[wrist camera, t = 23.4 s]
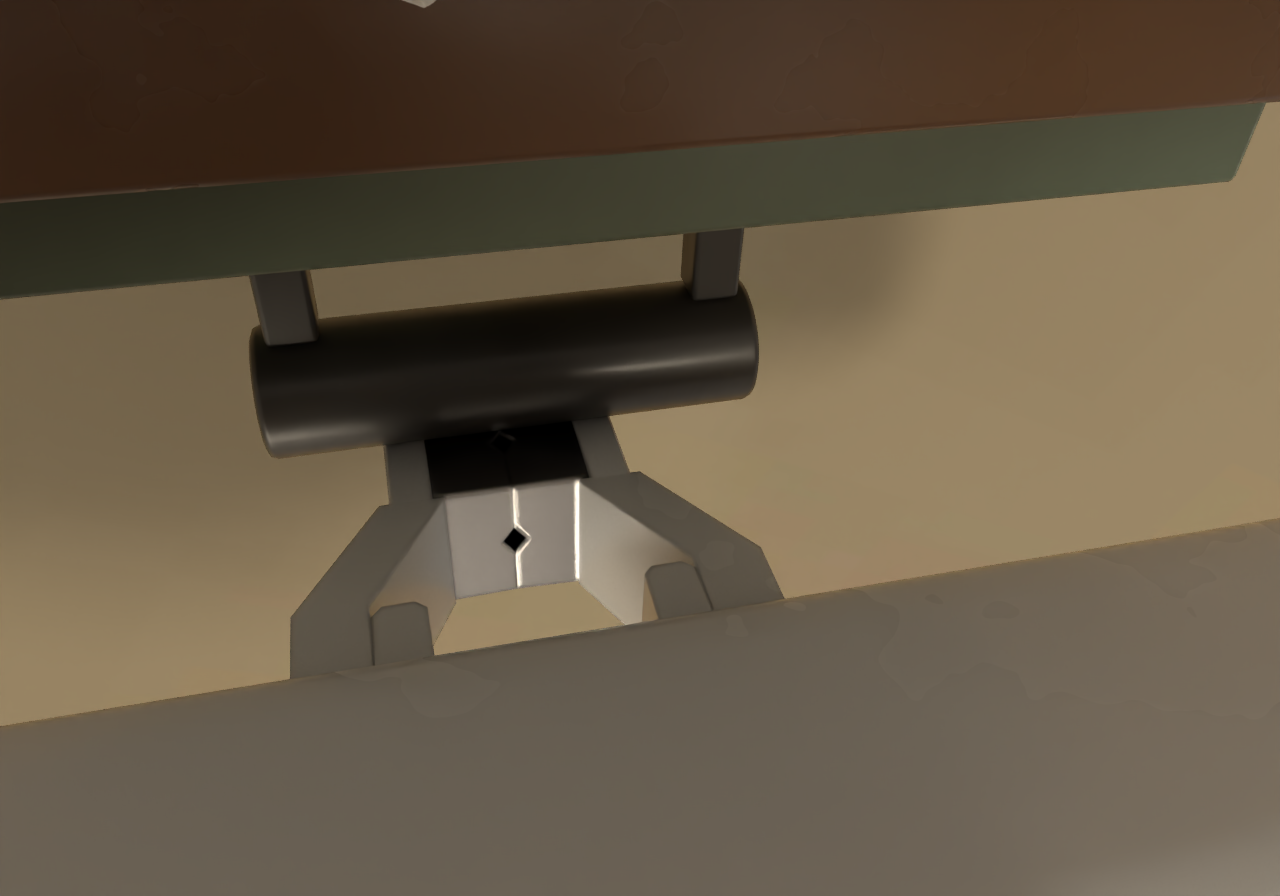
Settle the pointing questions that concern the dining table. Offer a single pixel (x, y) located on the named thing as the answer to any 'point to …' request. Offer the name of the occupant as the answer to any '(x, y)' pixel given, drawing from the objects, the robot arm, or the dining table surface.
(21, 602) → the dining table surface
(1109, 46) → the cabinet
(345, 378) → the drawer
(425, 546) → the robot arm
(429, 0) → the shaker set
